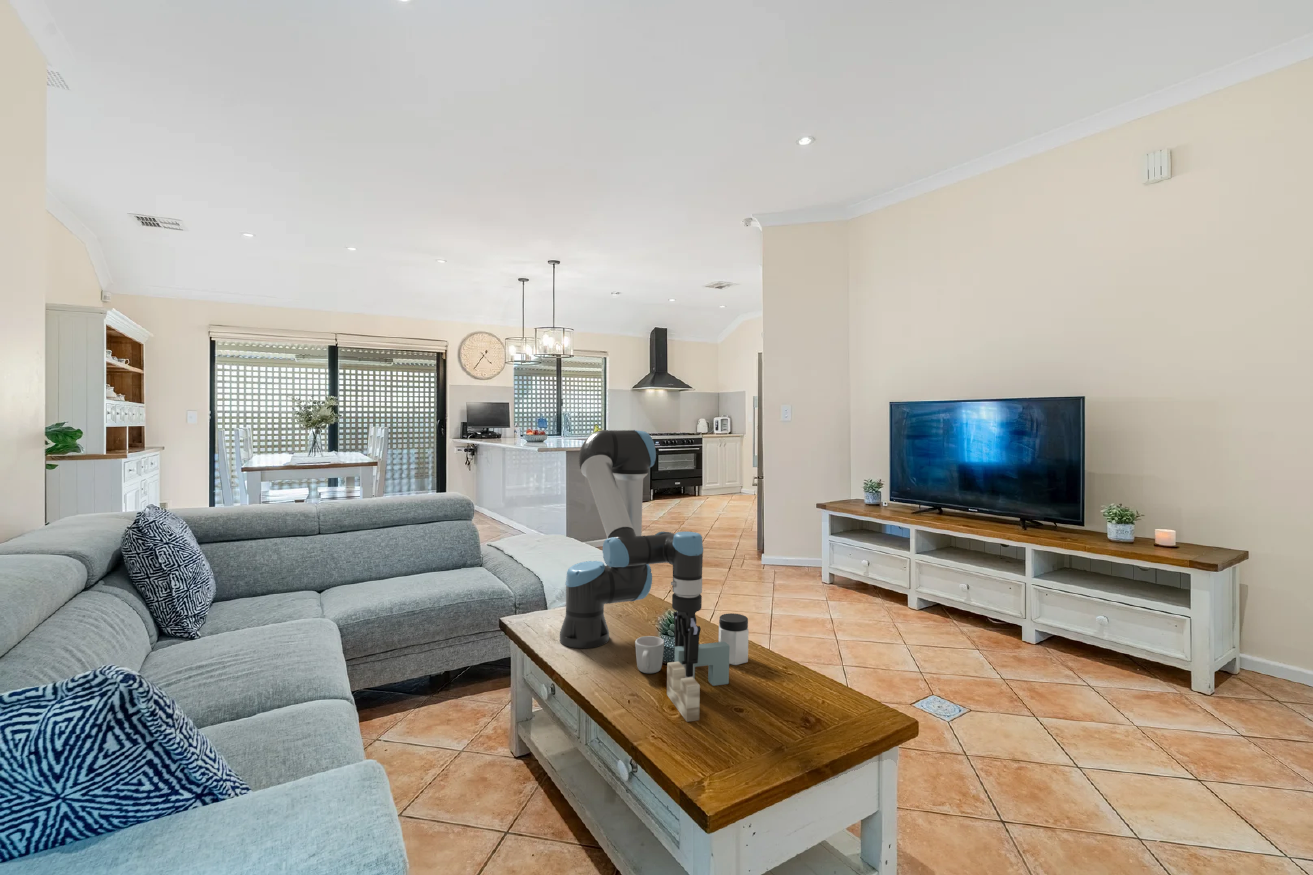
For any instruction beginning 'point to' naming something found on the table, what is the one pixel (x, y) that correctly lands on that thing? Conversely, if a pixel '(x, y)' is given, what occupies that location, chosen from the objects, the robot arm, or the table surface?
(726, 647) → the teal board
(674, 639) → the robot arm
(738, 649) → the jar
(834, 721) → the table surface
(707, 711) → the table surface
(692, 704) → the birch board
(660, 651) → the cup
